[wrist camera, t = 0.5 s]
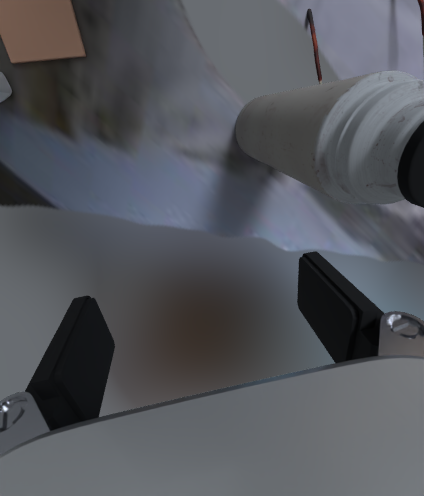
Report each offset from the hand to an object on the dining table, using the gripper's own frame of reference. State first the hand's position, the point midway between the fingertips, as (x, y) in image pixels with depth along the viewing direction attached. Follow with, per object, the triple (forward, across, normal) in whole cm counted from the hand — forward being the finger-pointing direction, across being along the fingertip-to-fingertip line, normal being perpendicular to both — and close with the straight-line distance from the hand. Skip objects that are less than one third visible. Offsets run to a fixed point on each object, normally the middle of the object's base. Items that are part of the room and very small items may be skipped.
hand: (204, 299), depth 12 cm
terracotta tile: (+29, +12, -19) cm, 37 cm away
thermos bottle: (+29, -13, -4) cm, 32 cm away
